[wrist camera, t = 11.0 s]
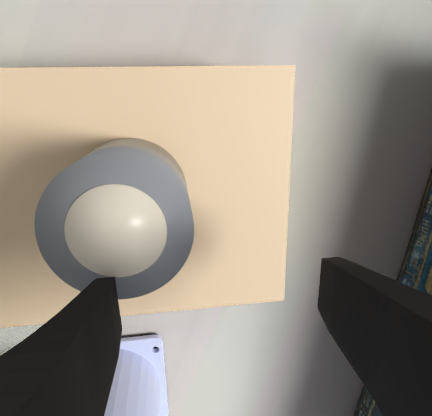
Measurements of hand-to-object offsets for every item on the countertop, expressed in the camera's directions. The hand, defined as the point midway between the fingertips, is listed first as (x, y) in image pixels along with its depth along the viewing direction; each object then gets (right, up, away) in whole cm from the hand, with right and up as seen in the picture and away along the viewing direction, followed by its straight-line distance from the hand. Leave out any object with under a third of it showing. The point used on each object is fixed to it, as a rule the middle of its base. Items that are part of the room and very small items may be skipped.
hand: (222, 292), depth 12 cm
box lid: (-4, +3, +5) cm, 7 cm away
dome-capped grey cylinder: (-4, +4, +4) cm, 7 cm away
